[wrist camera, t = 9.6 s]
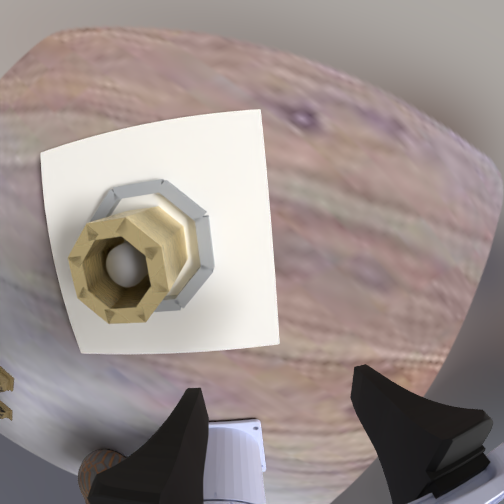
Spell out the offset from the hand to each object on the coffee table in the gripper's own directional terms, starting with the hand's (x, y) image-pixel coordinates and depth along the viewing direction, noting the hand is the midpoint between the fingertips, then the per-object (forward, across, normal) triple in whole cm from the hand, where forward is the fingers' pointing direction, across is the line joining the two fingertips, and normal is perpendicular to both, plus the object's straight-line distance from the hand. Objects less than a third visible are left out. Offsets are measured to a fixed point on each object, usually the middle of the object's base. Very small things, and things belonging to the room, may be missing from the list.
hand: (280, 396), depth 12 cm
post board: (+9, +7, -6) cm, 13 cm away
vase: (+10, +19, +19) cm, 29 cm away
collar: (+8, +7, -6) cm, 12 cm away
